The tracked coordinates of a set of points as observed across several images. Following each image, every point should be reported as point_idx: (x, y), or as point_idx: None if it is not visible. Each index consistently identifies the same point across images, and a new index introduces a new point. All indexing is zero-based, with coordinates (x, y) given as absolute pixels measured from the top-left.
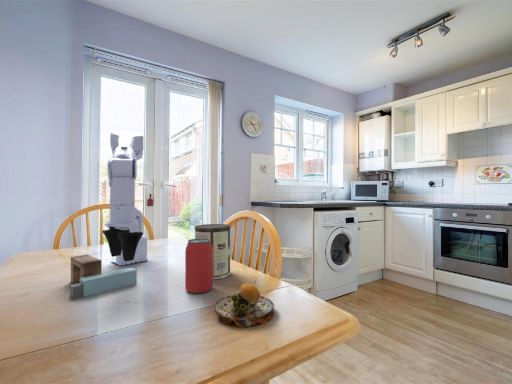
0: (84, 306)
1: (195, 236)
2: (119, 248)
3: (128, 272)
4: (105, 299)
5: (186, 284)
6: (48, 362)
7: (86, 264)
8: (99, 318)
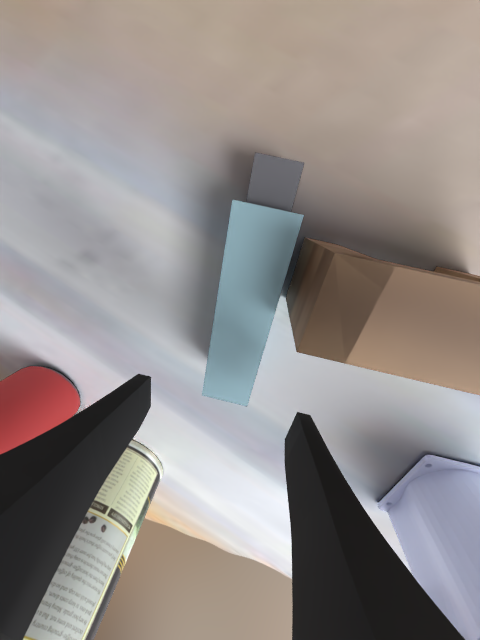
0: (145, 150)
1: (42, 606)
2: (291, 477)
3: (206, 369)
4: (155, 232)
5: (34, 378)
6: None
7: (323, 270)
8: (9, 122)
